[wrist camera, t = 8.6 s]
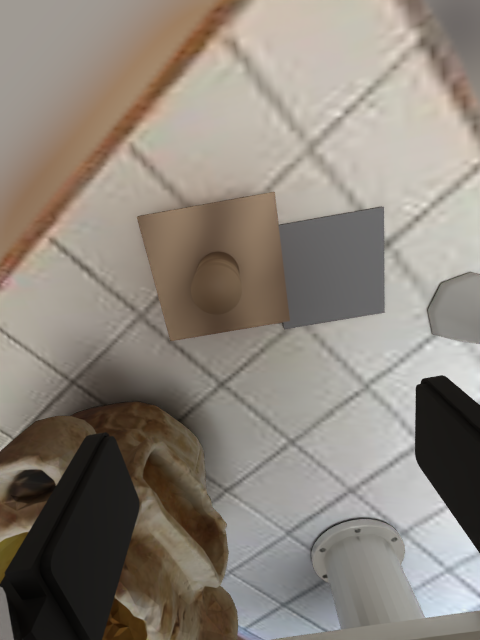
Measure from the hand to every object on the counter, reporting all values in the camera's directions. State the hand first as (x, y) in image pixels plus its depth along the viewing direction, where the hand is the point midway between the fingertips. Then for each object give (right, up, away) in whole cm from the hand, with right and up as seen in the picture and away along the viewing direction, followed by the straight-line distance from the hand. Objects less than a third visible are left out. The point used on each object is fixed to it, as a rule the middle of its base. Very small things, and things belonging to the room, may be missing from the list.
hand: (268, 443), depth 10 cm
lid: (-3, +8, +16) cm, 18 cm away
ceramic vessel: (-14, -9, +28) cm, 32 cm away
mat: (+8, +8, +21) cm, 24 cm away
